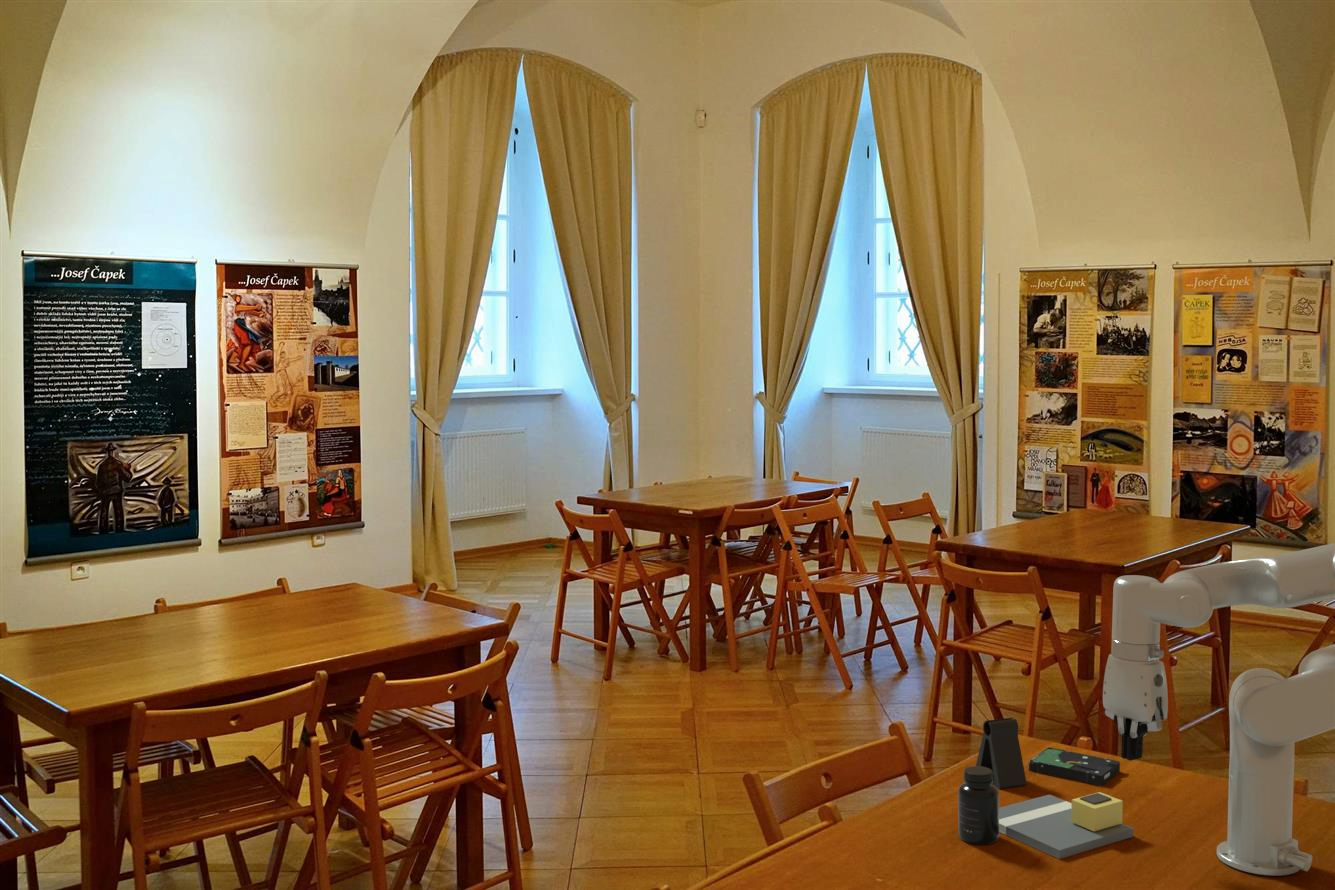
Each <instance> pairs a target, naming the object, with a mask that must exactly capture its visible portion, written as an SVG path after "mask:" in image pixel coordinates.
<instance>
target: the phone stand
mask: <svg viewBox="0 0 1335 890" xmlns="http://www.w3.org/2000/svg"><path fill="white" fill-rule="evenodd" d="M982 731H983V732H982V738H981V743H980V747H979V752H978V754H977V759H976V762H975V766H982V767H987V768H989V769H991V770H992V772H993V783H992V784H993V785H994V786H995V787H997V789H998V790H1002V788H1004V789H1010V787H1011V788H1017V787H1024V786H1027V784H1028V783H1027V778H1026V773H1025V768H1024V767H1025V766H1024V761H1023V756H1022V750H1021V746H1020V745H1021V744H1020V740H1019V723H1018V721H1017V719H1016V718H1013V717H1006V718H999V719H989V720H985V721H984V722H983V725H982Z"/></svg>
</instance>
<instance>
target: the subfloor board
mask: <svg viewBox="0 0 1335 890" xmlns="http://www.w3.org/2000/svg"><path fill="white" fill-rule="evenodd" d="M1071 809H1072V802H1070V801H1067V800H1064V799H1061V798H1059V797H1056V796H1055V795H1052V794H1046V795H1043V796H1039V797H1034V798H1031V799H1028V800H1023V801H1019V802H1016V803H1012V804H1008V805H1005V806H999V833H1001V834H1003V835H1005V836H1008V837H1009V838H1011V839H1014V840H1016V841H1018V842H1021V843H1022V844H1025V845H1027V846H1030V847H1032V848H1034V849H1036V850H1038V851H1041V852H1043V853H1045V854H1047V855H1049V856H1051V857H1054V858H1056V859H1059V860H1060V859H1065V858H1067V857H1071V856H1075V855H1076V854H1081V853H1085V852H1087V851H1091V850H1094V849H1097V848H1101V847H1104V846H1106V845H1107V846H1108V845H1110V844H1114V843H1117V842H1121V841H1124V840H1126V839H1129V838H1130V839H1131V838H1133V837H1134V830H1135V829H1134V827H1132V826H1129V825H1127V824H1124V823H1123V822H1122V823H1121V824H1118V825H1115V826H1111V827H1108V828H1104V829H1101V830H1098V831H1092V830H1089V829H1087V828H1084V827H1082V826H1080V825H1077V824H1075V823H1072V822H1071Z"/></svg>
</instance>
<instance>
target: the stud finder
mask: <svg viewBox="0 0 1335 890" xmlns="http://www.w3.org/2000/svg"><path fill="white" fill-rule="evenodd" d="M1071 803H1072V809H1071V822H1072V823H1075V824H1077V825H1080V826H1082V827H1084V828H1087V829H1089V830H1092V831H1098V830H1101V829H1104V828H1108V827H1111V826H1115V825H1118V824H1121V823H1122V824H1123V809H1124V807H1123V805H1124V804H1123V803H1124V801H1123V800H1122V799H1119V798H1116V797H1113V796H1111V795H1108V794H1106V793H1103V792H1100V791H1099V792H1095V793H1092V794H1087V795H1084V796H1079V797H1077V798H1072V799H1071Z"/></svg>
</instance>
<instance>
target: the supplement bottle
mask: <svg viewBox="0 0 1335 890" xmlns="http://www.w3.org/2000/svg"><path fill="white" fill-rule="evenodd" d="M992 783H993V772H992V770H991V769H989V768H987V767H982V766H976V765H972V766H967V767H966V768H964V770H963V782H962V783H961V785H960V786H959V787H958V790H957V792H958V793H957V807H958V808H957V809H958V810H957V812H958V813H957V815H958V819H957V821H958V828H957V829H958V836H959V838H960V839H961V840H962V841H963V842H965V843H968V844H971V845H976V846H977V845H979V846H981V845H982V846H988V845H992V844H994V843H996V842H997V841H998V840H999V837H1000V832H999V808H1000V794H999V793H1000V792H999V789H998V788H996V787H995V786H994V785H993V784H992Z"/></svg>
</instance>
